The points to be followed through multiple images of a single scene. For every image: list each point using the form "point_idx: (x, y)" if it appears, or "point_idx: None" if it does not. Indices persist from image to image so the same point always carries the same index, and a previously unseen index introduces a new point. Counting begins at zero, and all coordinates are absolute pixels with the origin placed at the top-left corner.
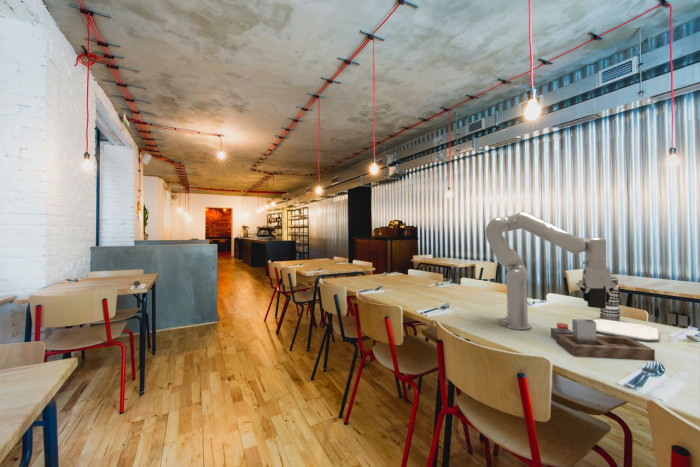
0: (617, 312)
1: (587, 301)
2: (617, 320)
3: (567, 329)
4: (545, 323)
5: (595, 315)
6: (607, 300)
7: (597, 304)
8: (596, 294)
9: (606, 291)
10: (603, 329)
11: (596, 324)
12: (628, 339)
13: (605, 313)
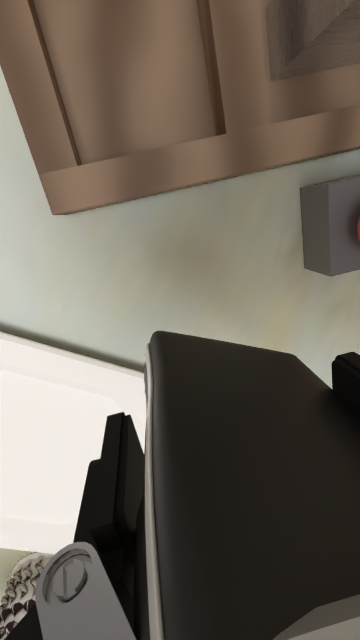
0: (3, 622)
1: (351, 357)
2: (19, 572)
3: (336, 254)
4: None
5: None
6: (120, 426)
7: (234, 355)
8: (308, 449)
9: (118, 599)
10: None
11: None
12: (59, 147)
13: None
